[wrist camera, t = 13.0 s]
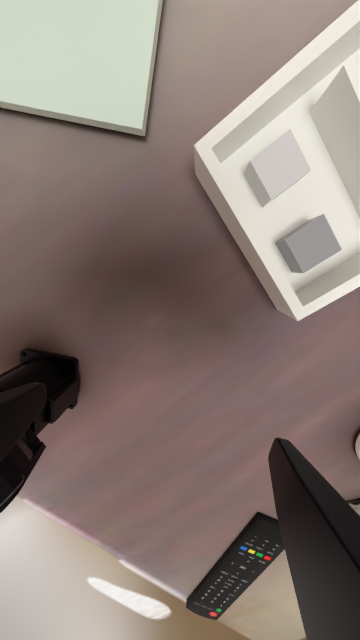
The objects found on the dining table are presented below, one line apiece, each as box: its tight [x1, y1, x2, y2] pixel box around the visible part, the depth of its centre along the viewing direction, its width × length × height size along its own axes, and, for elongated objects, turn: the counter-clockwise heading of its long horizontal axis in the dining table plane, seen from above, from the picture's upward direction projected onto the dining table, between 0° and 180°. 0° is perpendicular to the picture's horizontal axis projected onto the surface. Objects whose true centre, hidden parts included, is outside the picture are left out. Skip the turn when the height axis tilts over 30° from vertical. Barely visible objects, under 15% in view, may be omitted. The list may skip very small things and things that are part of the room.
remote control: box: [186, 513, 285, 620], centre depth 29 cm, size 5×24×1 cm, turn 157°
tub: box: [194, 0, 360, 321], centre depth 14 cm, size 14×18×4 cm
